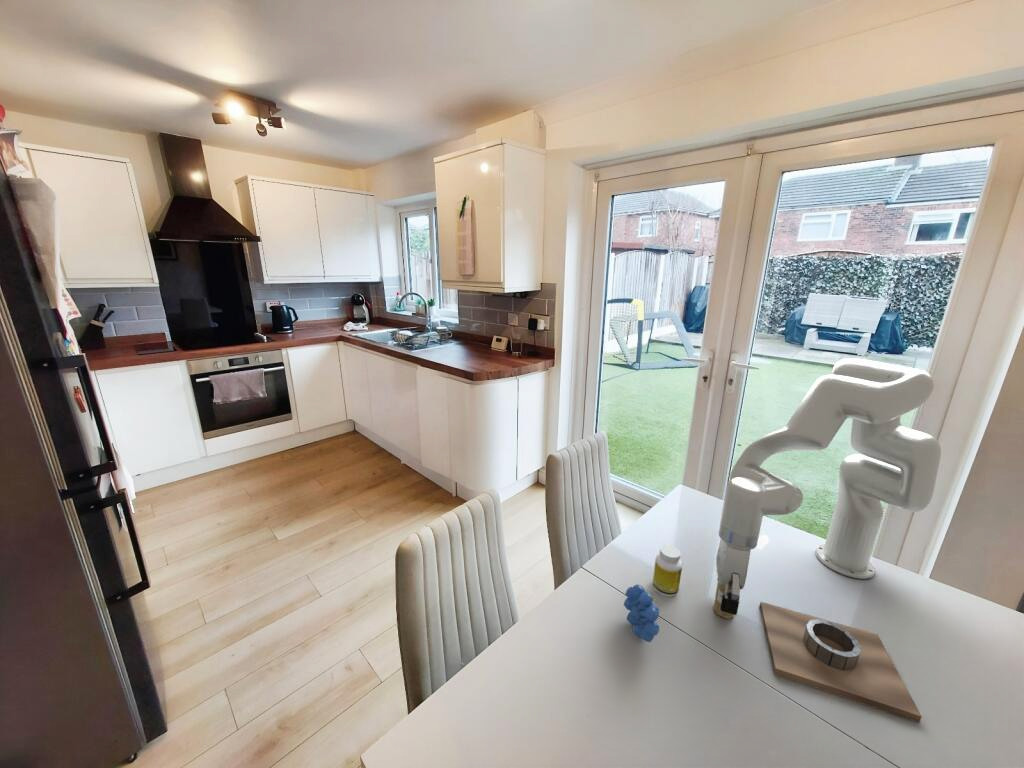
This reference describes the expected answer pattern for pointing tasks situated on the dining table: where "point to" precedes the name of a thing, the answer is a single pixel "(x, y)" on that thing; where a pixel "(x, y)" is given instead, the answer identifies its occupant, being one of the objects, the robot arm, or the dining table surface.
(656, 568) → the pill bottle
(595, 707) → the dining table surface
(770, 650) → the socket board
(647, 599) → the grapes
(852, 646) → the collar
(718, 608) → the sprinkles bottle
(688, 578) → the dining table surface
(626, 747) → the dining table surface
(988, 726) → the dining table surface
